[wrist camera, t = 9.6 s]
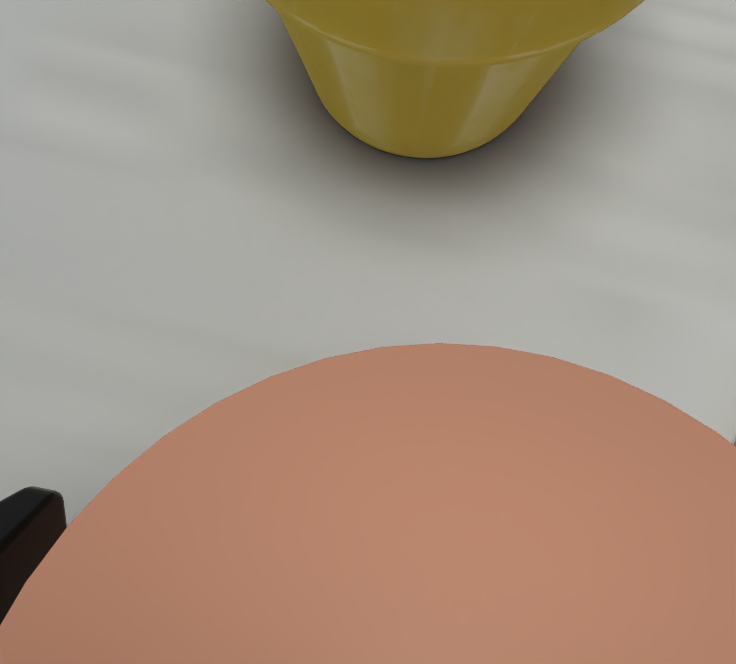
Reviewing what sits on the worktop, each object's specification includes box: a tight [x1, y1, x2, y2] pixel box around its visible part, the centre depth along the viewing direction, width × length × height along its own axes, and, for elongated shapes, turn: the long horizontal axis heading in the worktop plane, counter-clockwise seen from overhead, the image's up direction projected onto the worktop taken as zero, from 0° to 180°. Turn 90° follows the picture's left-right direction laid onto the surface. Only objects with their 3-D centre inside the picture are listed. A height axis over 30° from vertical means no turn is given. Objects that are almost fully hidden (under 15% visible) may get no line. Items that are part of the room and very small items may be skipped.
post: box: [0, 343, 736, 664], centre depth 9 cm, size 5×5×13 cm
